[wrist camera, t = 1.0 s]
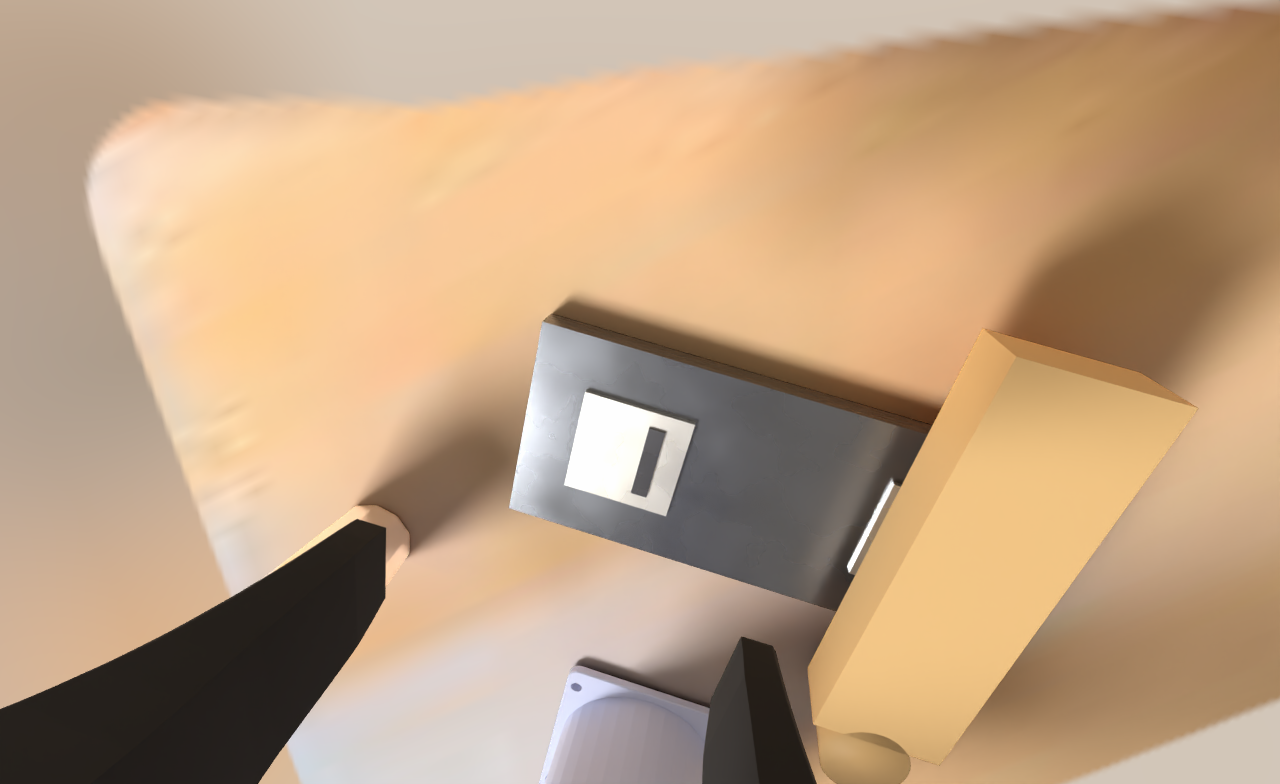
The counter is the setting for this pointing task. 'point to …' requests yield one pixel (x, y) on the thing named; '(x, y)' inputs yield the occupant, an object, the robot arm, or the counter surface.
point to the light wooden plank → (980, 548)
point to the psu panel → (707, 461)
